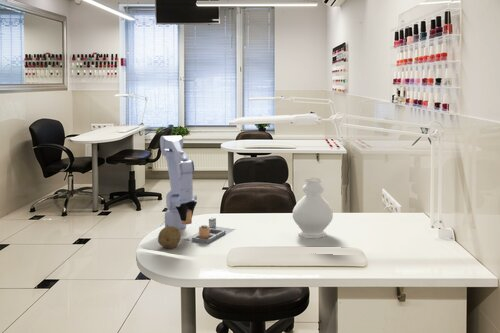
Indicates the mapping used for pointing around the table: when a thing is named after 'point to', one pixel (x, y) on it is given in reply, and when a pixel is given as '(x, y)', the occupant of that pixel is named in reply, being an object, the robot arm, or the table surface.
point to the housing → (214, 235)
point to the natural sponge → (169, 237)
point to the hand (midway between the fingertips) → (186, 219)
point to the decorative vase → (312, 210)
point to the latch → (212, 222)
